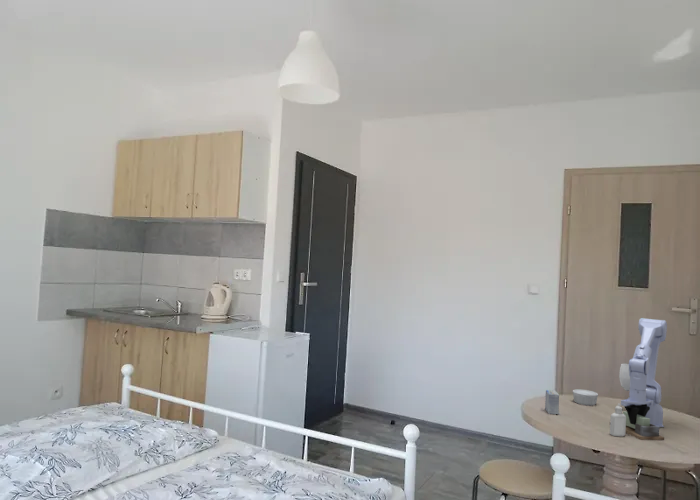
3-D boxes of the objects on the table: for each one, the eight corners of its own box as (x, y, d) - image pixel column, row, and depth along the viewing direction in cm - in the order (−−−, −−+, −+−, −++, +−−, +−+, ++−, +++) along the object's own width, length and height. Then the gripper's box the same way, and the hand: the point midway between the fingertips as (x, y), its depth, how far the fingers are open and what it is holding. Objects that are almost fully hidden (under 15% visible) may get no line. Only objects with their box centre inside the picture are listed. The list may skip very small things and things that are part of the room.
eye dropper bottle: (626, 437, 198) (628, 406, 198) (610, 435, 200) (611, 404, 200) (624, 434, 202) (625, 403, 203) (608, 432, 204) (609, 401, 204)
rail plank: (628, 423, 212) (628, 411, 212) (649, 431, 202) (650, 418, 202) (622, 424, 211) (623, 411, 211) (643, 432, 201) (644, 419, 201)
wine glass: (636, 410, 240) (638, 365, 240) (634, 414, 234) (637, 367, 234) (618, 407, 244) (620, 362, 244) (616, 410, 238) (618, 365, 238)
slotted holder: (631, 424, 216) (632, 414, 216) (664, 440, 198) (664, 428, 198) (609, 424, 215) (610, 413, 215) (640, 439, 197) (640, 427, 197)
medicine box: (558, 415, 225) (559, 394, 225) (547, 413, 226) (548, 393, 226) (555, 410, 232) (556, 390, 233) (544, 409, 233) (545, 389, 234)
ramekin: (575, 405, 244) (575, 393, 244) (569, 399, 255) (569, 388, 255) (600, 407, 242) (601, 396, 242) (593, 401, 253) (594, 390, 253)
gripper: (643, 386, 213) (641, 419, 212) (615, 386, 208) (613, 421, 208) (658, 390, 206) (657, 425, 206) (629, 391, 202) (628, 426, 201)
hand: (636, 423), depth 206 cm, fingers closed on rail plank, 3 cm apart
